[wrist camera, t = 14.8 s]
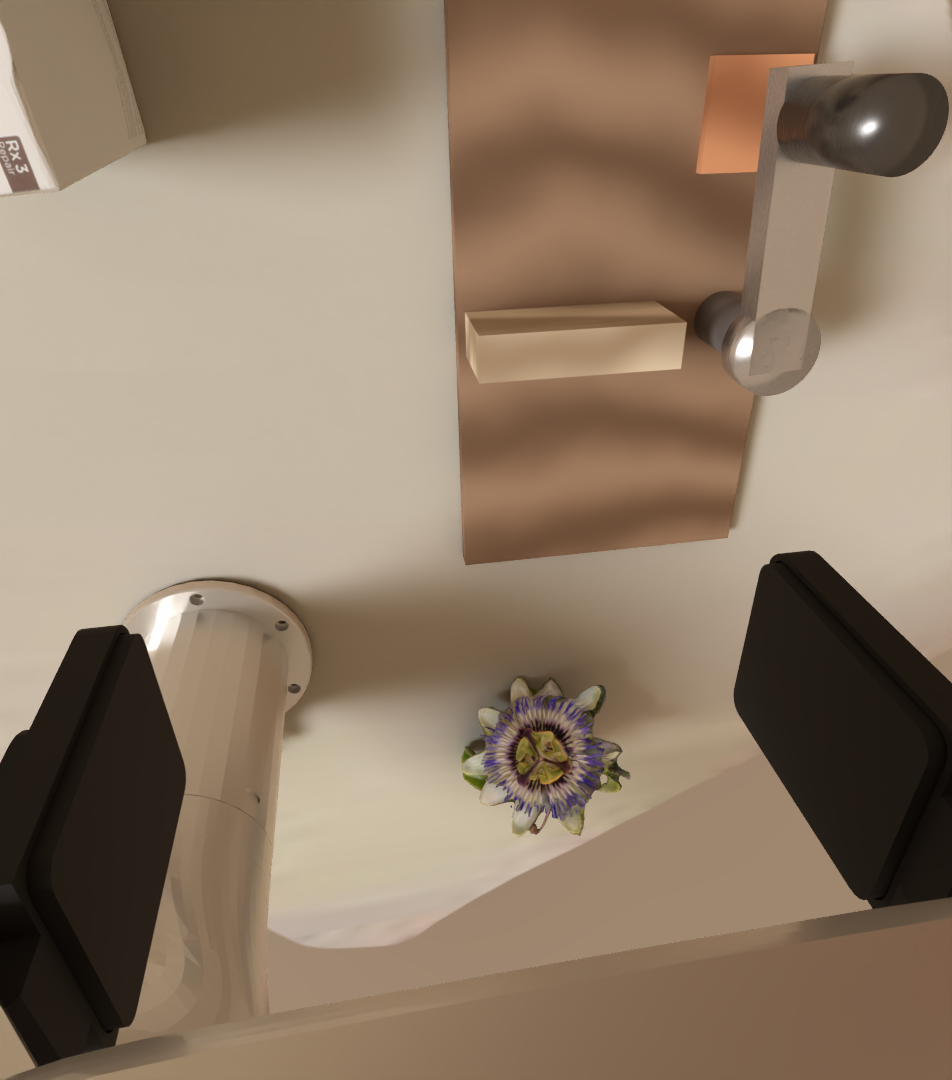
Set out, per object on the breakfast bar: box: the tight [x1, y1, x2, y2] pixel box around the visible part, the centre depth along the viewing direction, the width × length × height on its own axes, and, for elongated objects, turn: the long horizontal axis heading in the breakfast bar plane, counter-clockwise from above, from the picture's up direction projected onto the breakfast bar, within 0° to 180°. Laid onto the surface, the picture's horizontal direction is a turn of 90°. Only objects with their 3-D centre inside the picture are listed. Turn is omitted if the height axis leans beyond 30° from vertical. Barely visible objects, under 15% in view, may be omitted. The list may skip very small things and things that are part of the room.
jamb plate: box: [444, 0, 828, 565], centre depth 40 cm, size 30×18×6 cm, turn 1°
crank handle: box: [721, 61, 949, 396], centre depth 32 cm, size 14×4×8 cm, turn 4°
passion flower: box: [462, 677, 630, 837], centre depth 55 cm, size 11×11×12 cm
